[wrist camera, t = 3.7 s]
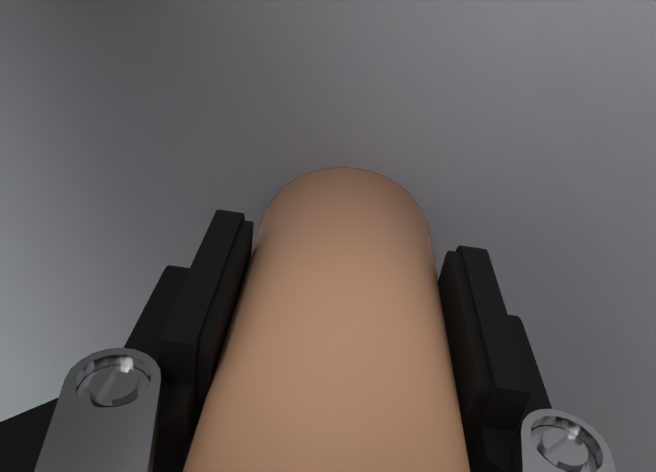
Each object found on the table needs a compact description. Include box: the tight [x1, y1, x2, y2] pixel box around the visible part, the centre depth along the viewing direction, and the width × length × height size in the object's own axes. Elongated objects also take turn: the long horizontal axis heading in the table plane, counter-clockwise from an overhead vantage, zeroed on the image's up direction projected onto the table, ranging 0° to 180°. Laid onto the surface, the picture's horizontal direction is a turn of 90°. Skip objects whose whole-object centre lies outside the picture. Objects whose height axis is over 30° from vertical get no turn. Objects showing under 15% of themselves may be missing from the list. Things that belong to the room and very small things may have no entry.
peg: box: [183, 167, 470, 472], centre depth 10 cm, size 4×4×9 cm
